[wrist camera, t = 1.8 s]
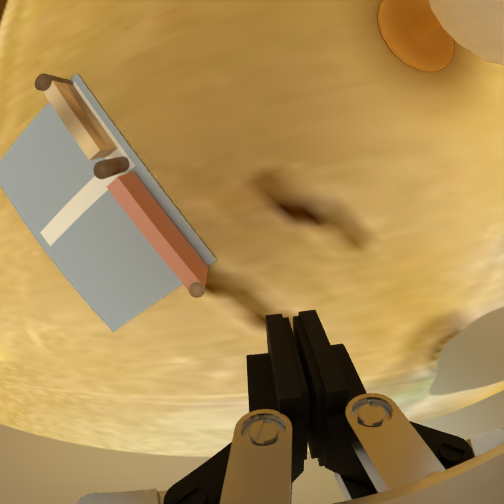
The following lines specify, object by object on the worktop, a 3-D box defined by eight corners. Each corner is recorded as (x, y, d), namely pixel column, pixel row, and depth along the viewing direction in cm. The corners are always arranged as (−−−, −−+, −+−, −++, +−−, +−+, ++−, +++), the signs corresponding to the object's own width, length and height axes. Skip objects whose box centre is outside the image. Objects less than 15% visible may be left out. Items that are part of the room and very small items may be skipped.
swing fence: (123, 179, 26) (105, 187, 22) (133, 171, 26) (116, 177, 22) (200, 277, 29) (195, 300, 25) (211, 270, 29) (207, 292, 25)
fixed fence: (58, 87, 23) (32, 82, 19) (69, 77, 23) (43, 70, 18) (120, 175, 26) (100, 183, 22) (132, 165, 26) (113, 171, 22)
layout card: (-6, 171, 25) (-8, 172, 25) (78, 73, 23) (76, 73, 23) (114, 330, 32) (113, 332, 32) (216, 259, 30) (216, 260, 29)
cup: (471, 25, 22) (585, -3, 6) (446, 107, 25) (584, 110, 9) (382, -37, 20) (472, -118, 4) (346, 43, 23) (458, -33, 7)
